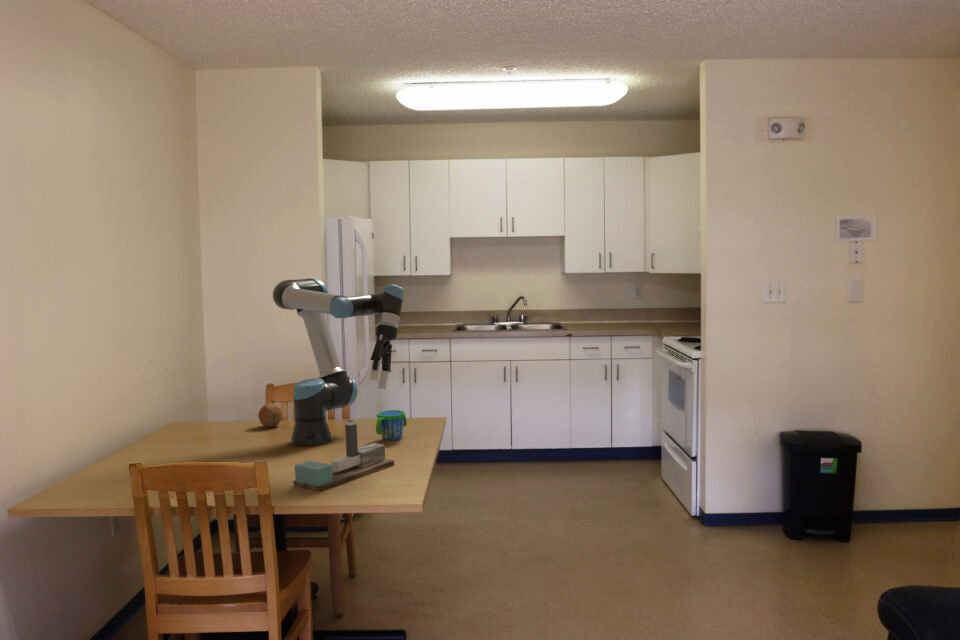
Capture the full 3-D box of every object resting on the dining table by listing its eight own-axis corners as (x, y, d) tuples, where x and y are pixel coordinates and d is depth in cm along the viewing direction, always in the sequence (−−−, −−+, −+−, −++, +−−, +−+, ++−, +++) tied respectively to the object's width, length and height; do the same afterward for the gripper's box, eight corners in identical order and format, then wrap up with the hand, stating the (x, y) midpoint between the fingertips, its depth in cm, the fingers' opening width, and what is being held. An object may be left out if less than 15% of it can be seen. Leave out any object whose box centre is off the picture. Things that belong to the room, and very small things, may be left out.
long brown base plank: (293, 485, 241) (292, 465, 240) (367, 460, 268) (367, 441, 268) (320, 491, 234) (319, 470, 233) (394, 464, 261) (393, 445, 261)
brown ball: (276, 423, 333) (274, 400, 332) (287, 426, 325) (286, 402, 324) (255, 427, 326) (253, 403, 325) (266, 430, 319) (264, 406, 318)
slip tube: (331, 470, 248) (329, 425, 247) (378, 454, 266) (376, 412, 265) (338, 471, 246) (336, 426, 245) (385, 455, 264) (383, 413, 263)
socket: (295, 481, 240) (294, 465, 240) (310, 476, 245) (309, 460, 245) (318, 486, 234) (317, 469, 234) (332, 481, 239) (331, 464, 239)
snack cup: (386, 445, 289) (385, 418, 288) (367, 441, 295) (366, 414, 295) (416, 436, 301) (415, 410, 300) (397, 433, 307) (396, 407, 306)
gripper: (390, 317, 267) (380, 377, 261) (404, 337, 291) (394, 393, 285) (369, 315, 268) (358, 374, 262) (384, 335, 292) (375, 390, 286)
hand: (377, 384), depth 273 cm, fingers open, 13 cm apart
